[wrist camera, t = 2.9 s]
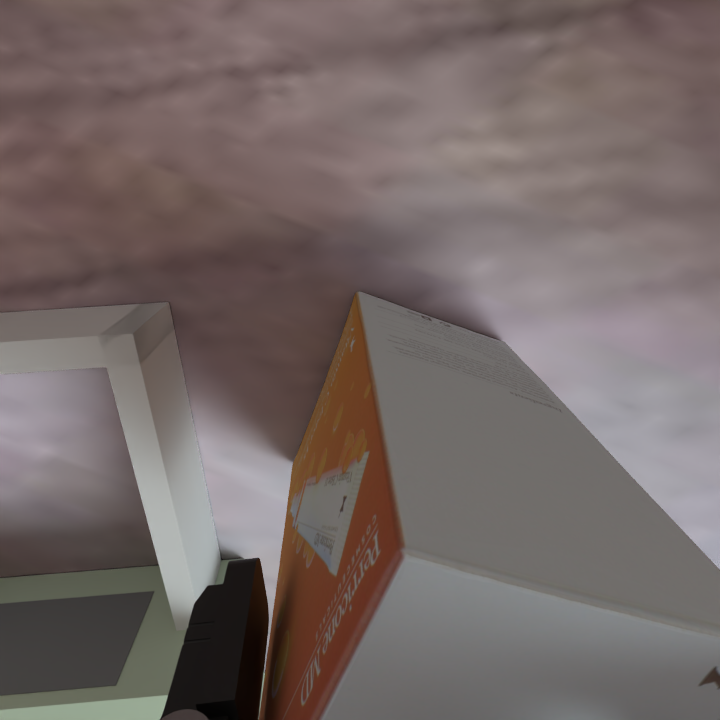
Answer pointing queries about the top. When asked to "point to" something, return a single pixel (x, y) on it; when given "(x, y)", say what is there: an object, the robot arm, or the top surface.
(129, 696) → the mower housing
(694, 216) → the top surface
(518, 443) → the small box
